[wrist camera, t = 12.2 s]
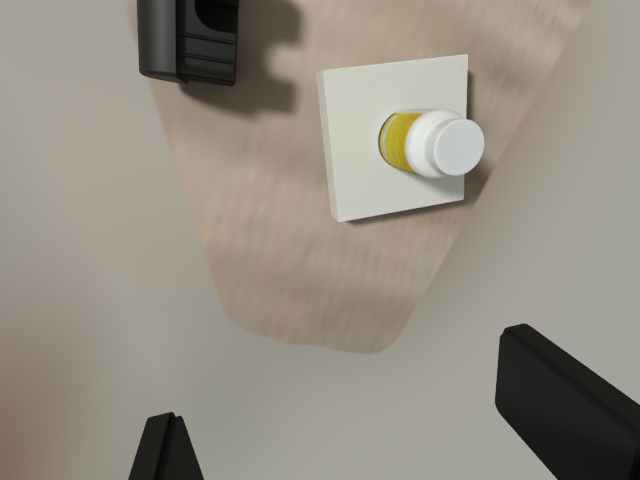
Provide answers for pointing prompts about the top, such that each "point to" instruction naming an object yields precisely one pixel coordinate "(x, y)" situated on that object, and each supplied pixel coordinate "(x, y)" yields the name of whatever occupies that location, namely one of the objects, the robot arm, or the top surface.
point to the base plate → (363, 125)
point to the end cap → (188, 40)
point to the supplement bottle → (430, 142)
